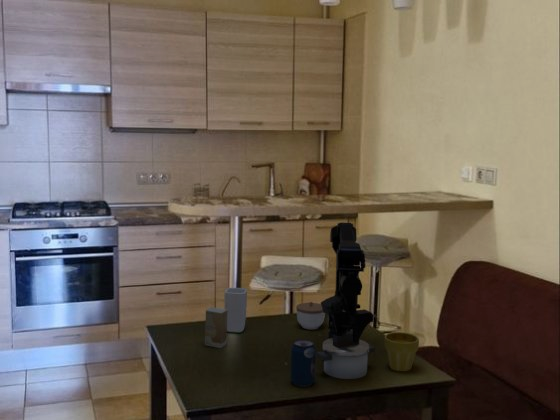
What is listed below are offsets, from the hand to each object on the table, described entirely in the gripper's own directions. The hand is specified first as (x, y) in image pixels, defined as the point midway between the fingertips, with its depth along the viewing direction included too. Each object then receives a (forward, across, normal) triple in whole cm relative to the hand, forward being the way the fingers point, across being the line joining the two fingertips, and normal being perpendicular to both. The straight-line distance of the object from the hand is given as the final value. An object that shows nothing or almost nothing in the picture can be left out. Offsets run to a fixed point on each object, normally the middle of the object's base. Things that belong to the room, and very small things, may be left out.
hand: (346, 337), depth 196 cm
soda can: (+11, +2, -16) cm, 20 cm away
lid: (+3, 0, 0) cm, 3 cm away
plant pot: (+11, +5, +17) cm, 21 cm away
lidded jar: (+11, -41, +12) cm, 44 cm away
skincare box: (+11, -37, -27) cm, 47 cm away
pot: (+10, 0, 0) cm, 10 cm away
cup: (+11, -48, -15) cm, 51 cm away
